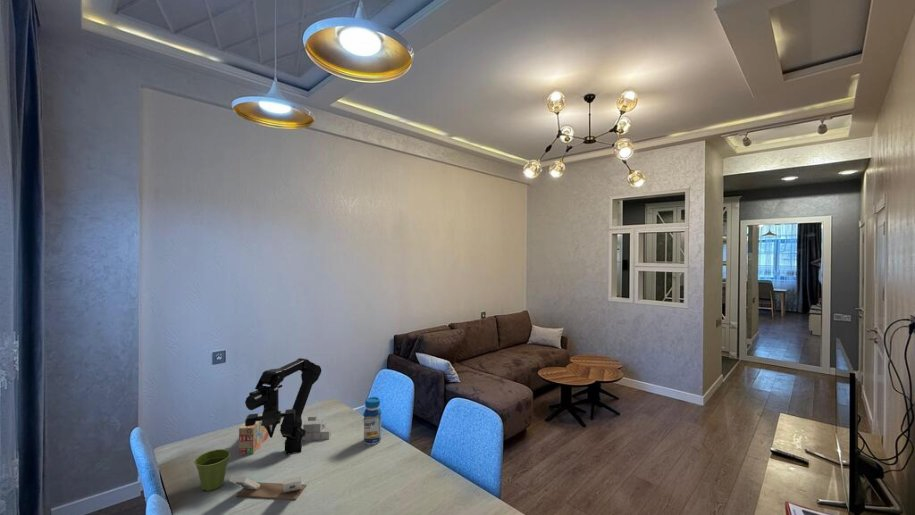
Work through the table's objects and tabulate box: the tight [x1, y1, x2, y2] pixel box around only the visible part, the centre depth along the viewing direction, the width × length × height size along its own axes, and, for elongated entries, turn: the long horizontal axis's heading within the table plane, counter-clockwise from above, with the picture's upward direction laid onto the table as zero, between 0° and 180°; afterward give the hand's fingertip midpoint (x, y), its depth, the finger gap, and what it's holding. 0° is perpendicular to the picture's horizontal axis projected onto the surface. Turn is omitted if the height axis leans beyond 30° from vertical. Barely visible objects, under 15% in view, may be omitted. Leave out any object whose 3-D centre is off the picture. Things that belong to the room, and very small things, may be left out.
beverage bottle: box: [363, 396, 383, 445], centre depth 181 cm, size 8×8×20 cm
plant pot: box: [193, 448, 232, 492], centre depth 146 cm, size 12×12×11 cm
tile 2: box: [228, 475, 260, 489], centre depth 140 cm, size 2×6×11 cm
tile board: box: [235, 481, 307, 501], centre depth 143 cm, size 8×23×1 cm, turn 86°
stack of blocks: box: [238, 413, 272, 455], centre depth 179 cm, size 21×6×12 cm, turn 4°
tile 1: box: [282, 475, 302, 493], centre depth 139 cm, size 2×6×11 cm
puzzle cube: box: [302, 413, 332, 442], centre depth 187 cm, size 12×12×8 cm
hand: (271, 437), depth 160 cm, fingers closed
